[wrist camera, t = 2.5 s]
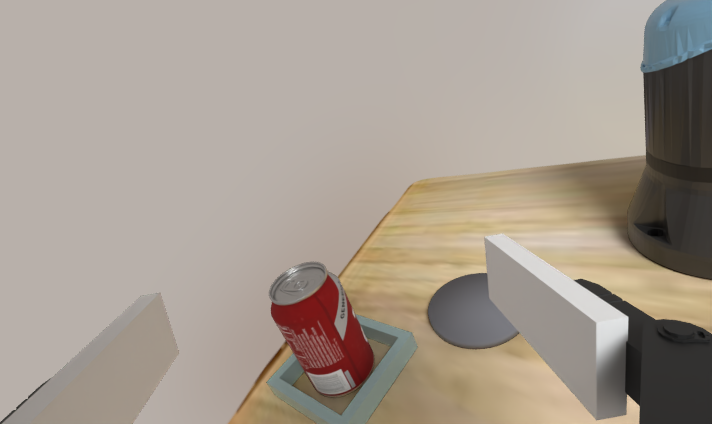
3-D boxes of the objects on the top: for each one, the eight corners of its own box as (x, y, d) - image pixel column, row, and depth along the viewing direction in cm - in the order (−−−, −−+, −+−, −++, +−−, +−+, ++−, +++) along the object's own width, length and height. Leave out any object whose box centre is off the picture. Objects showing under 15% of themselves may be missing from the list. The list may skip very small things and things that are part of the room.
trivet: (455, 272, 46) (453, 267, 45) (543, 287, 39) (542, 282, 38) (413, 332, 40) (410, 326, 39) (507, 362, 33) (506, 356, 32)
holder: (341, 320, 45) (335, 307, 44) (417, 347, 38) (412, 332, 37) (274, 395, 39) (266, 382, 38) (350, 445, 31) (341, 431, 30)
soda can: (359, 408, 34) (307, 310, 29) (302, 395, 38) (247, 306, 33) (386, 348, 39) (345, 256, 34) (333, 342, 43) (289, 257, 38)
